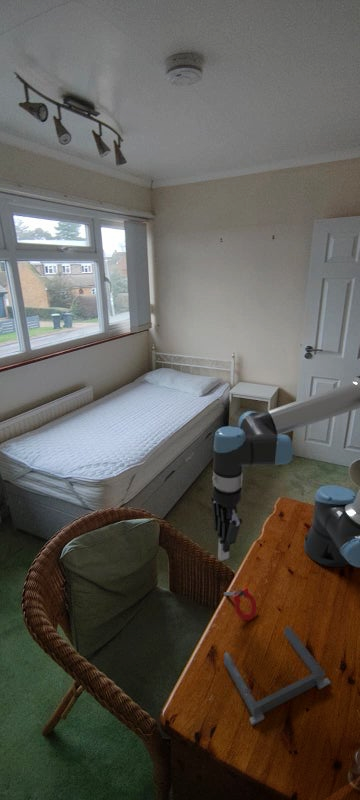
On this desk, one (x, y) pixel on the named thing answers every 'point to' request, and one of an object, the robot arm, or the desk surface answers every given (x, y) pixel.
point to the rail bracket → (285, 693)
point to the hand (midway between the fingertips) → (223, 557)
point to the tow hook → (236, 598)
